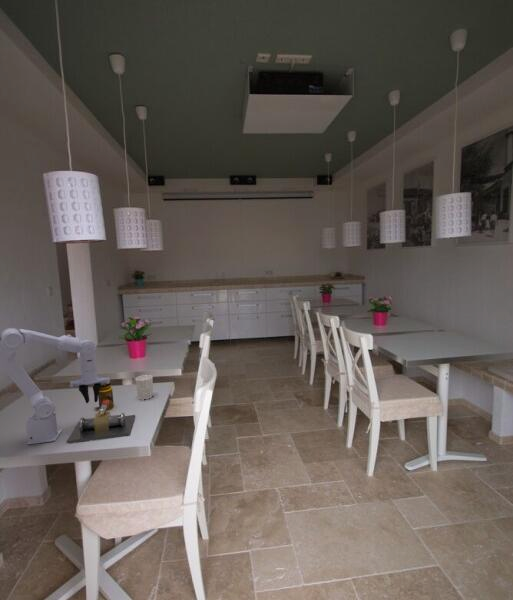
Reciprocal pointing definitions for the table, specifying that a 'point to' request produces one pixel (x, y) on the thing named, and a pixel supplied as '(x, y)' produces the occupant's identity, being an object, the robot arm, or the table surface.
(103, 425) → the valve body
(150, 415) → the table surface
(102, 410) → the valve lever
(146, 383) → the white cup
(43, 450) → the table surface
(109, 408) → the condiment
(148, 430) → the table surface
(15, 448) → the table surface
